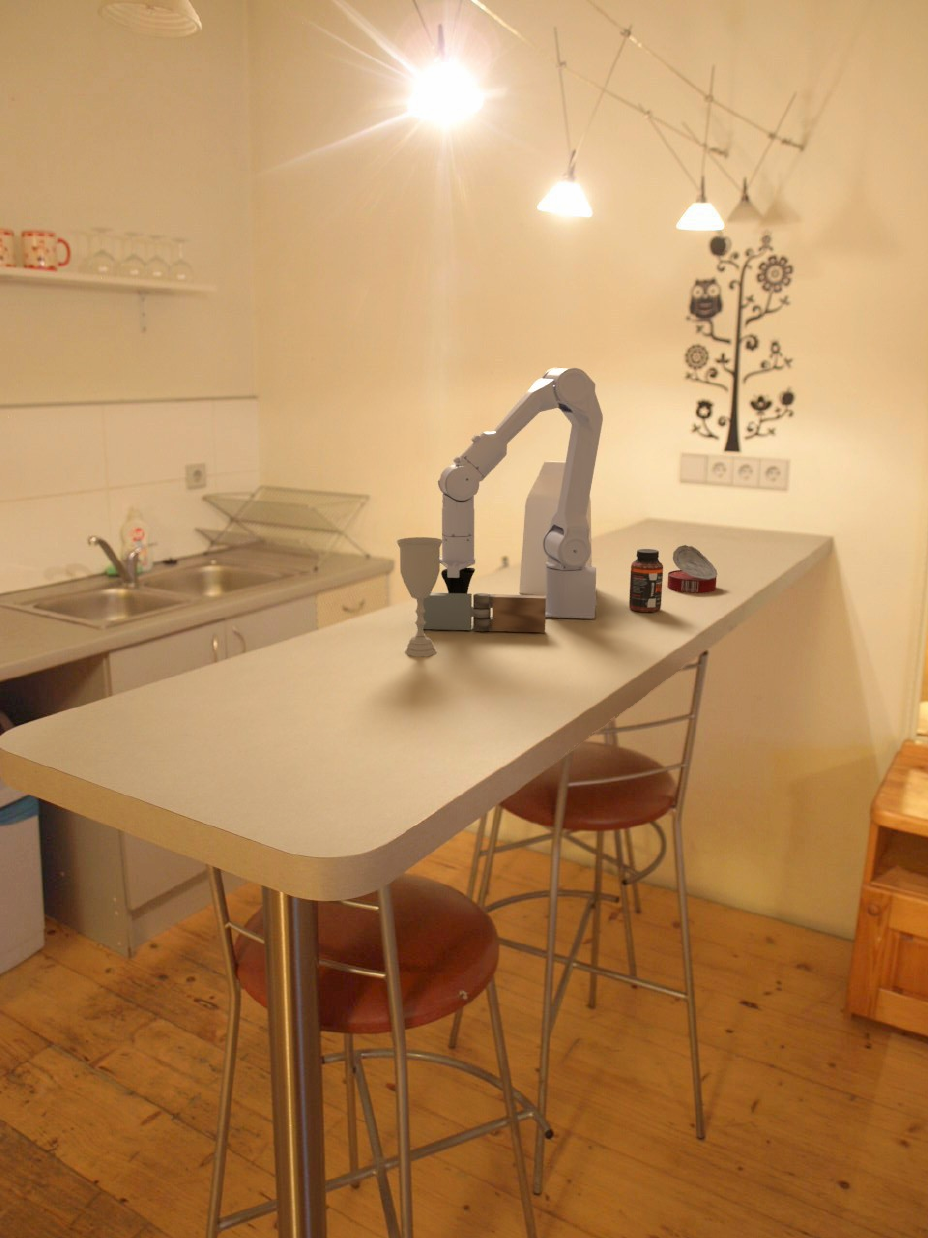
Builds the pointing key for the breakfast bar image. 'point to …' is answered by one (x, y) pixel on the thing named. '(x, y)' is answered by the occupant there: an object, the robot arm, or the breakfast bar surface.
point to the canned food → (691, 572)
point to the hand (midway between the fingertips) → (458, 609)
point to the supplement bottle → (646, 582)
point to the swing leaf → (451, 611)
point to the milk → (542, 526)
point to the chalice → (420, 583)
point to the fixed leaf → (511, 612)
